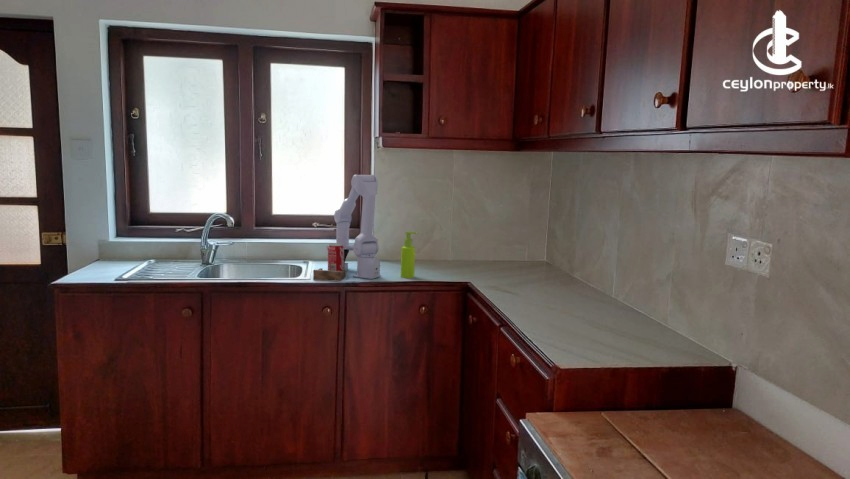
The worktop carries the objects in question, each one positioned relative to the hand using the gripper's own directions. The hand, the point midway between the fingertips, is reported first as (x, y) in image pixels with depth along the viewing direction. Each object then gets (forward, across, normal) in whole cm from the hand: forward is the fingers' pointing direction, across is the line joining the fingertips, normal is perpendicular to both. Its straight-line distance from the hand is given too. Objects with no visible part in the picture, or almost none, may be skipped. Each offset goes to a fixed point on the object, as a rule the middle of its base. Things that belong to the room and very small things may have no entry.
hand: (342, 265), depth 272 cm
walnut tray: (+1, 0, +22) cm, 22 cm away
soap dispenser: (+2, -33, +11) cm, 35 cm away
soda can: (+2, 0, +12) cm, 12 cm away
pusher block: (+2, 0, +5) cm, 5 cm away
